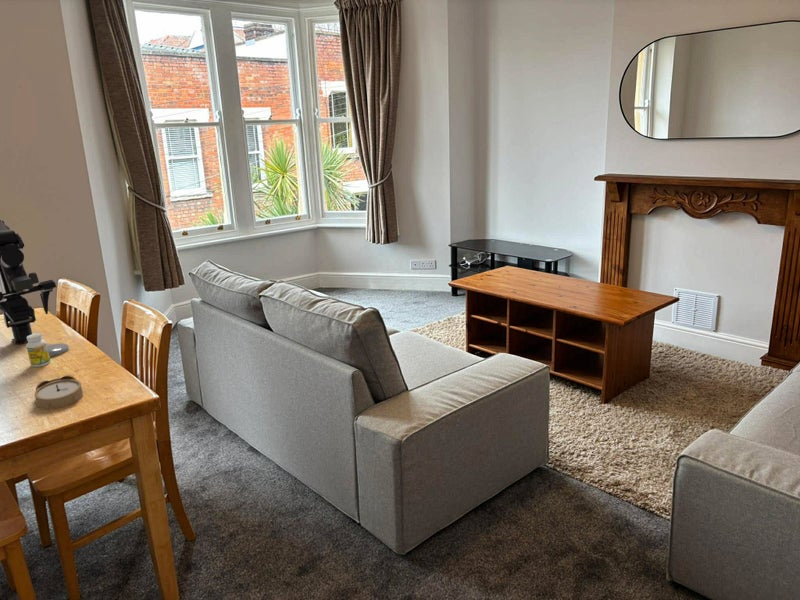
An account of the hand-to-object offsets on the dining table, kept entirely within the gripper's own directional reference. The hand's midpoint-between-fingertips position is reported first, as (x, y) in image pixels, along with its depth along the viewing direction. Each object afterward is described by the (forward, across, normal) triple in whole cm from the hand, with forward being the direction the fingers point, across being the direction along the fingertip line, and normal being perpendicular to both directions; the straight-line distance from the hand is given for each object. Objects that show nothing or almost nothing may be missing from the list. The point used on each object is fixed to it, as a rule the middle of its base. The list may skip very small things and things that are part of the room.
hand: (31, 318), depth 192 cm
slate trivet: (+12, +3, +9) cm, 15 cm away
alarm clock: (+25, -5, -30) cm, 39 cm away
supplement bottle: (+15, -2, 0) cm, 15 cm away
